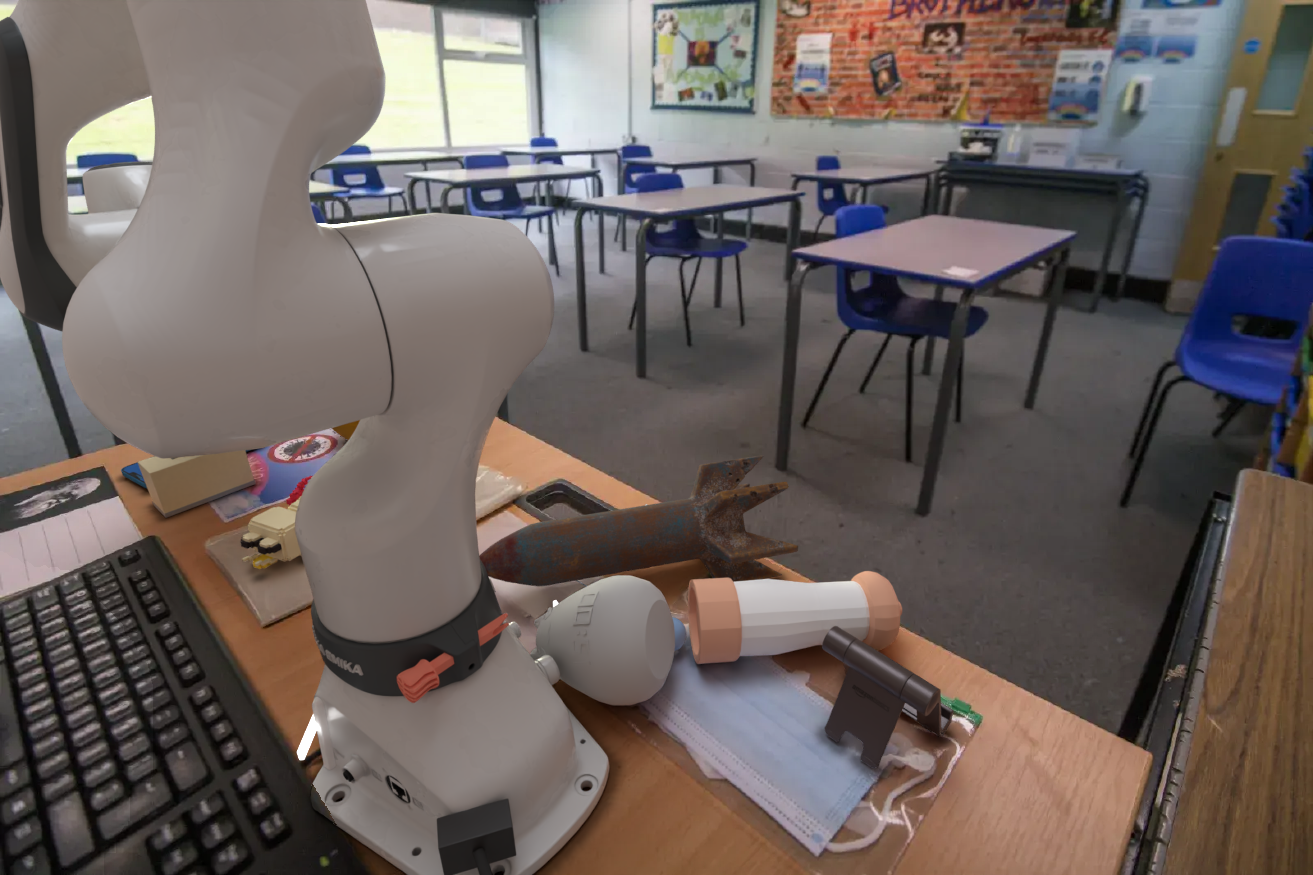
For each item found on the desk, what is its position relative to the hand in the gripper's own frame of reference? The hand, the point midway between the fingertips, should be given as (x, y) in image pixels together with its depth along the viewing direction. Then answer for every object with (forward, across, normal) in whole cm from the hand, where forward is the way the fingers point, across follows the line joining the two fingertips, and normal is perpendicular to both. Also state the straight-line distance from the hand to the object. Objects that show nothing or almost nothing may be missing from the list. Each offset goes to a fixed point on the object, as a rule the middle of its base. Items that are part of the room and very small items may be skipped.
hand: (210, 430), depth 83 cm
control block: (+8, 0, -2) cm, 8 cm away
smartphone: (+8, -10, 0) cm, 13 cm away
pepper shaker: (+5, +60, +16) cm, 63 cm away
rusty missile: (+3, +41, +7) cm, 42 cm away
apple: (+8, +1, +18) cm, 19 cm away
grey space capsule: (+2, +62, +10) cm, 63 cm away
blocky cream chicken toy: (+8, +17, +6) cm, 20 cm away
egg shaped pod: (+8, +50, +15) cm, 53 cm away
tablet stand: (+9, +77, +19) cm, 80 cm away
